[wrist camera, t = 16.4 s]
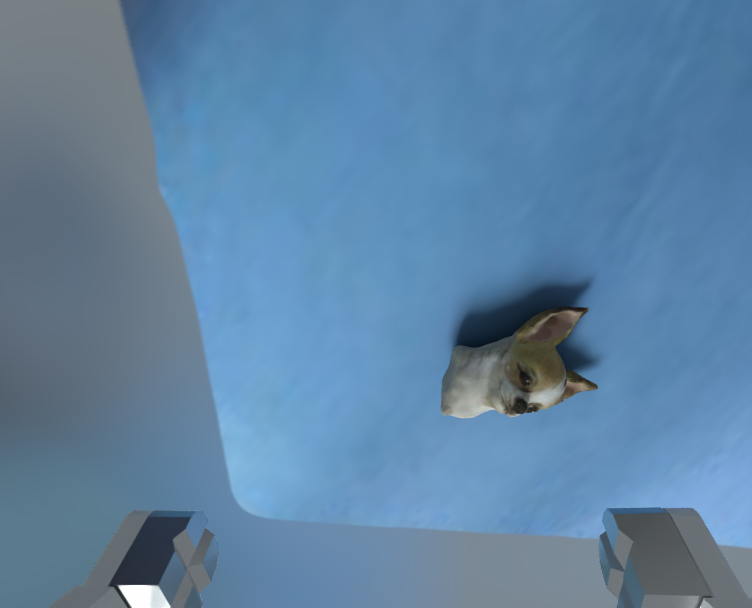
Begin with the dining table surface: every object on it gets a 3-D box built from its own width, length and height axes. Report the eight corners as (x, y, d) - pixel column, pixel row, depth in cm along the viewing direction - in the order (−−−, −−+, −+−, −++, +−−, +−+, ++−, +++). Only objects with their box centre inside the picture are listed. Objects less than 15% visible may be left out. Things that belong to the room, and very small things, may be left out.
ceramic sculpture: (428, 380, 40) (615, 337, 37) (422, 325, 47) (576, 287, 45) (456, 467, 44) (623, 434, 42) (446, 405, 52) (587, 374, 50)
